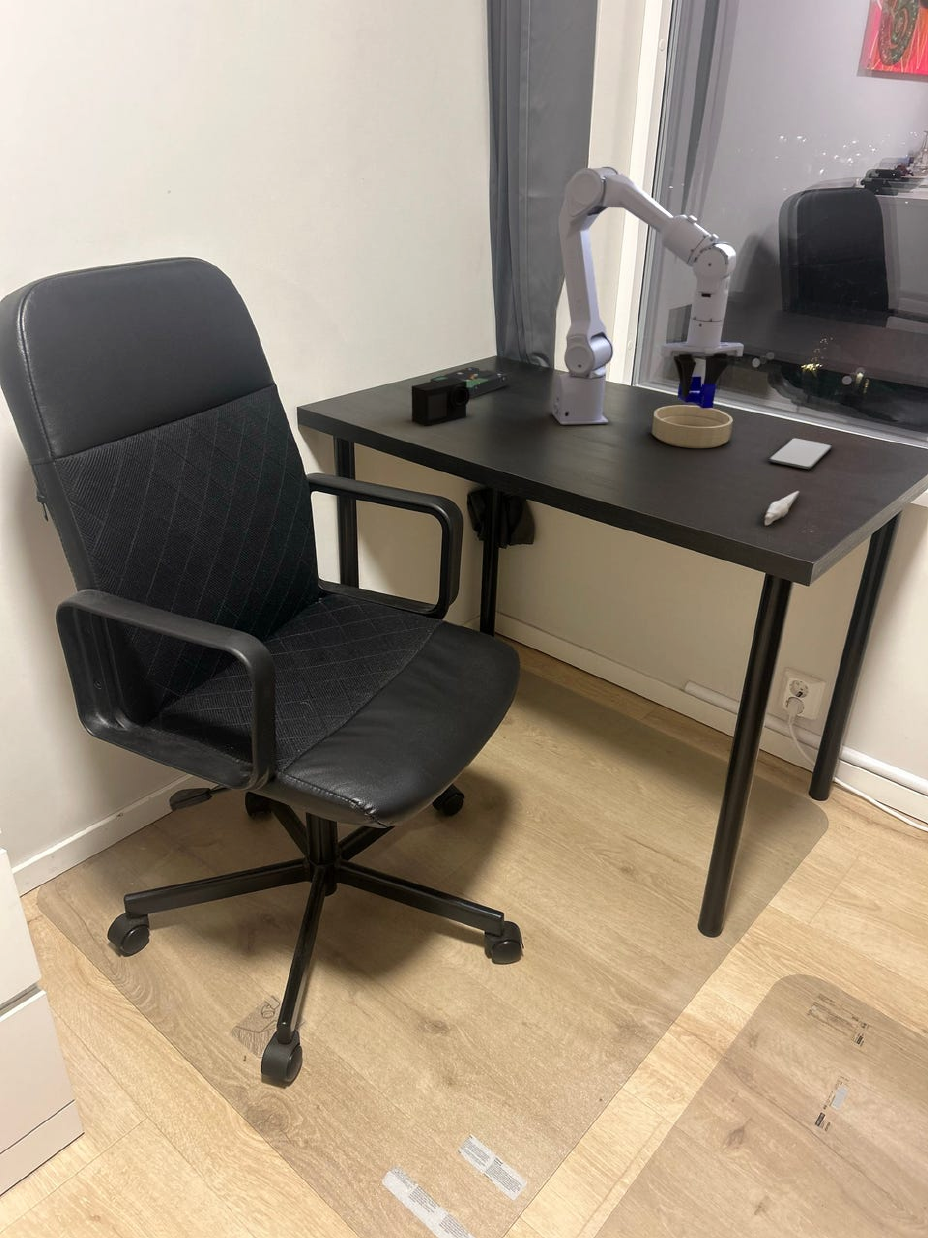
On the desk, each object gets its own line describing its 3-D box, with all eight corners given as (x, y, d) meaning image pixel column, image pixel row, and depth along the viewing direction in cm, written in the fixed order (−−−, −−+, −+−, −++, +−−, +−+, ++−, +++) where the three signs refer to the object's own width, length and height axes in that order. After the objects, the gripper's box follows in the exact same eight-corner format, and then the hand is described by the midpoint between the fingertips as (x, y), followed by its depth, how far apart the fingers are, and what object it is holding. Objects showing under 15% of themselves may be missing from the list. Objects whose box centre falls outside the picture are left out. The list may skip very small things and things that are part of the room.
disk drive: (469, 378, 199) (429, 391, 188) (470, 366, 197) (429, 378, 187) (507, 386, 194) (468, 399, 183) (508, 373, 192) (469, 386, 182)
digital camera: (429, 428, 166) (429, 391, 163) (411, 421, 170) (411, 385, 166) (470, 418, 172) (471, 382, 169) (452, 411, 176) (452, 376, 172)
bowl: (666, 450, 157) (669, 428, 155) (641, 426, 169) (643, 406, 167) (741, 448, 159) (745, 426, 157) (711, 424, 171) (714, 404, 169)
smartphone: (832, 444, 159) (809, 467, 149) (831, 447, 160) (808, 470, 149) (793, 437, 163) (768, 458, 152) (793, 440, 163) (768, 461, 152)
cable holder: (677, 396, 163) (680, 374, 161) (695, 395, 164) (698, 374, 162) (694, 408, 156) (697, 386, 154) (712, 408, 157) (716, 385, 155)
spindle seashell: (773, 528, 127) (776, 516, 126) (756, 524, 129) (758, 512, 128) (806, 498, 138) (808, 487, 137) (789, 494, 139) (791, 483, 138)
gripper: (675, 323, 148) (664, 403, 155) (756, 322, 150) (742, 401, 157) (661, 315, 154) (651, 392, 161) (738, 314, 157) (726, 390, 163)
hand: (695, 396), depth 160 cm, fingers closed on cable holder, 3 cm apart
